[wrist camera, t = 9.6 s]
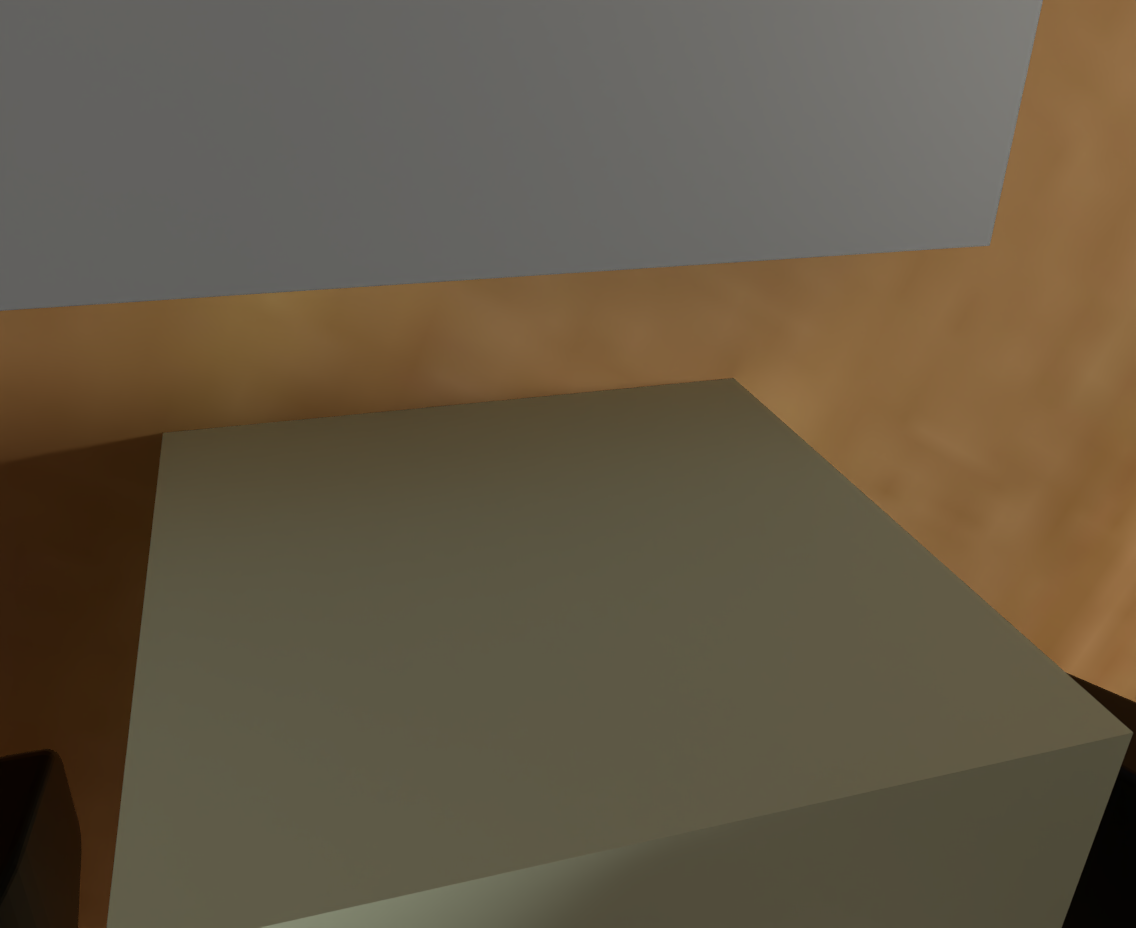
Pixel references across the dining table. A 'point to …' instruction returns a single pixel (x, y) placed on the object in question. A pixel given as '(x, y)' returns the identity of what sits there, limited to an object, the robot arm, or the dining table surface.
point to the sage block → (580, 686)
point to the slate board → (487, 138)
